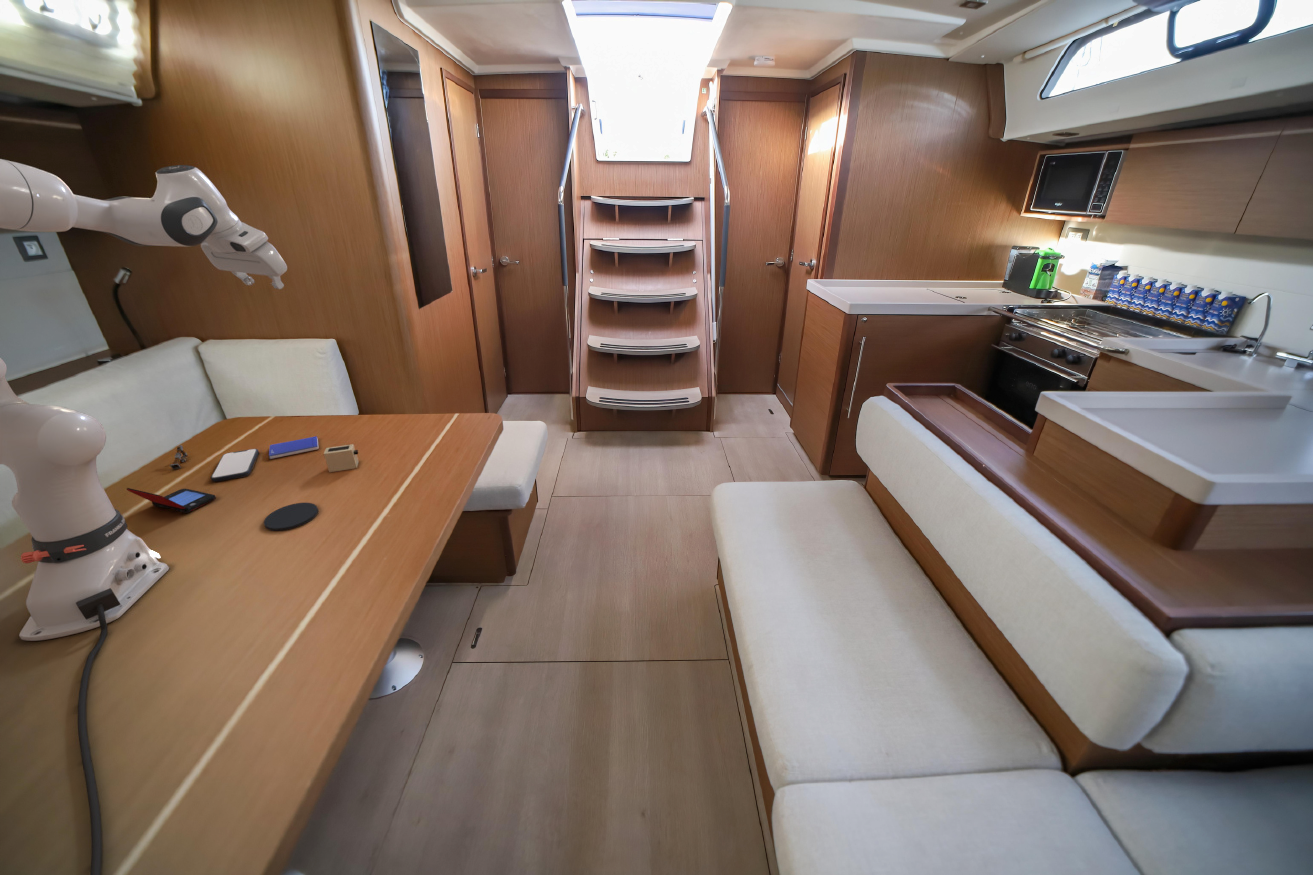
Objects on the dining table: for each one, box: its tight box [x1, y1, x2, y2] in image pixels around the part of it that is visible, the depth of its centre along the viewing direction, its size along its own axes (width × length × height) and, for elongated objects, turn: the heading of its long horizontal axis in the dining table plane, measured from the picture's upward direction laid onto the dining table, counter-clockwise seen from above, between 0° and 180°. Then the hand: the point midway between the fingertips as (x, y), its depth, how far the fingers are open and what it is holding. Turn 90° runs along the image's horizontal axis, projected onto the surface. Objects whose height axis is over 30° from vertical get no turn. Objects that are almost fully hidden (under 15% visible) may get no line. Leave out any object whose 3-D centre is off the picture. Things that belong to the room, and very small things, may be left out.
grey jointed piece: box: [169, 444, 189, 470], centre depth 147 cm, size 2×8×4 cm, turn 22°
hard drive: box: [268, 435, 319, 460], centre depth 155 cm, size 2×8×12 cm
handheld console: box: [126, 487, 217, 514], centre depth 126 cm, size 12×11×7 cm
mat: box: [263, 502, 319, 532], centre depth 123 cm, size 11×11×1 cm
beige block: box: [323, 443, 359, 473], centre depth 144 cm, size 4×8×6 cm, turn 111°
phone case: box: [210, 448, 260, 483], centre depth 145 cm, size 9×2×16 cm
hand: (265, 285), depth 131 cm, fingers open, 8 cm apart
